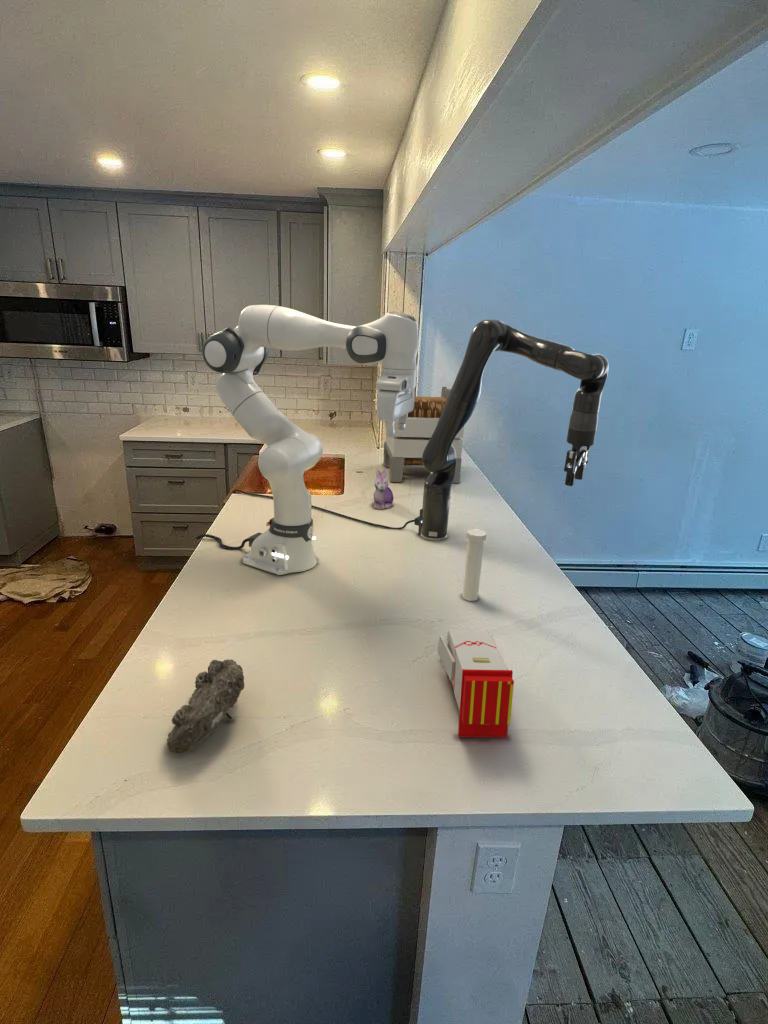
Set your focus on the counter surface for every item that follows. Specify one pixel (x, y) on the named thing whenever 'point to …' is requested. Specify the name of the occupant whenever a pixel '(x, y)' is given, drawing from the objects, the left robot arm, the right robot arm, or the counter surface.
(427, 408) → the grey boxy piece
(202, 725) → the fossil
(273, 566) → the left robot arm
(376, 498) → the figurine
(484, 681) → the toy
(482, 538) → the lid
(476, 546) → the slender white bottle
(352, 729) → the counter surface
